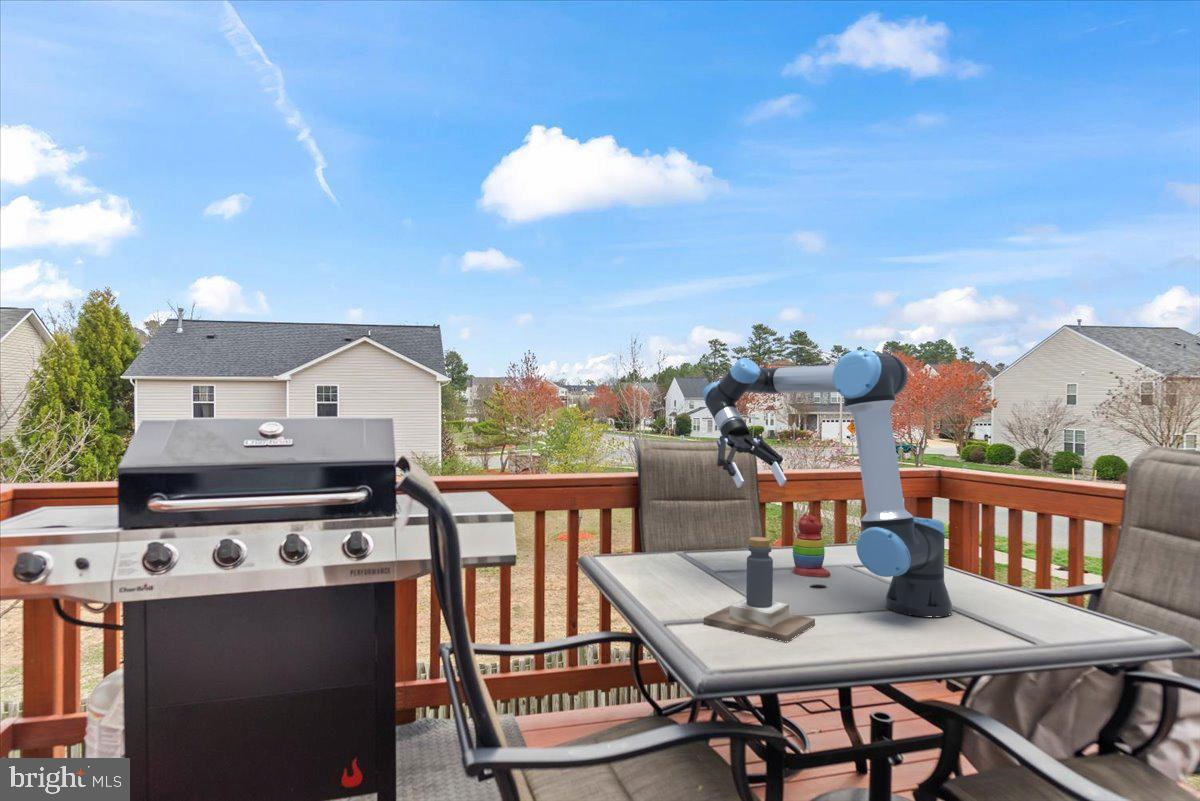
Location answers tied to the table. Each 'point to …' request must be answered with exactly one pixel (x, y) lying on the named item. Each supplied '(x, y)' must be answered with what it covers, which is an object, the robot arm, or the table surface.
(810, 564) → the stacking bear
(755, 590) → the bottle
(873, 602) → the table surface
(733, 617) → the plinth
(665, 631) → the table surface
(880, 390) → the robot arm
